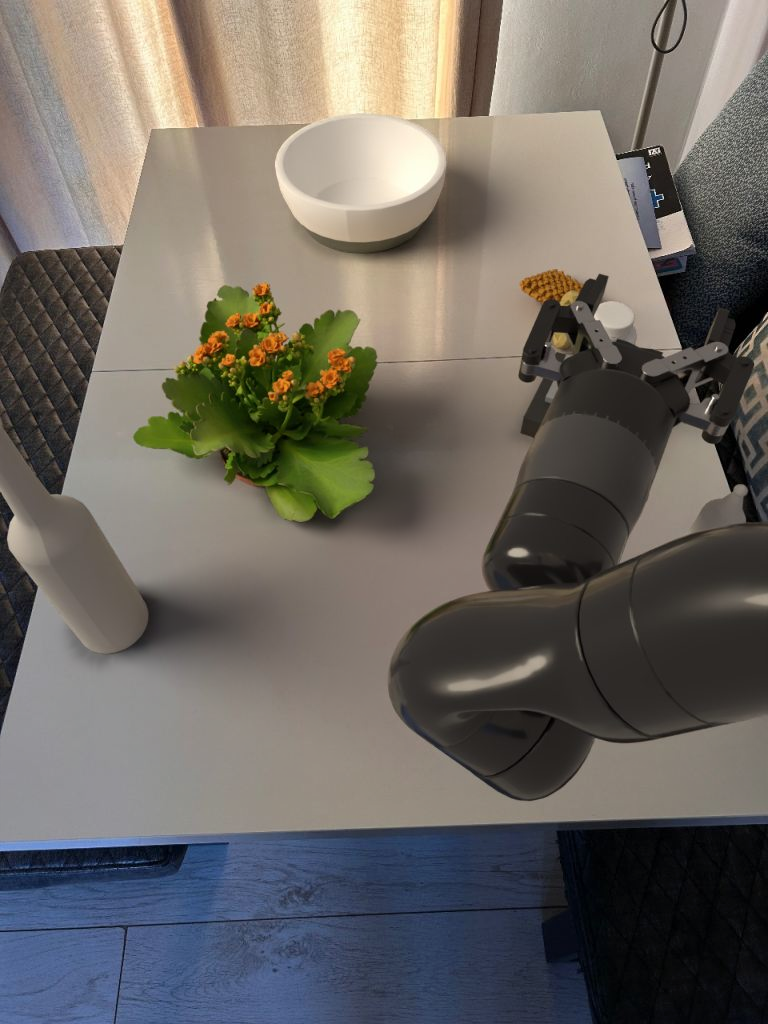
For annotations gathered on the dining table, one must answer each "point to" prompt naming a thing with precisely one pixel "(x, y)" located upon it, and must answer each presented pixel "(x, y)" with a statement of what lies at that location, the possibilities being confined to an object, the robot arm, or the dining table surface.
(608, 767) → the dining table surface
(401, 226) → the bowl
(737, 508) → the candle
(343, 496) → the potted flower
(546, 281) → the ornament
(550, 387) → the scale
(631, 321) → the supplement bottle
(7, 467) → the bottle
